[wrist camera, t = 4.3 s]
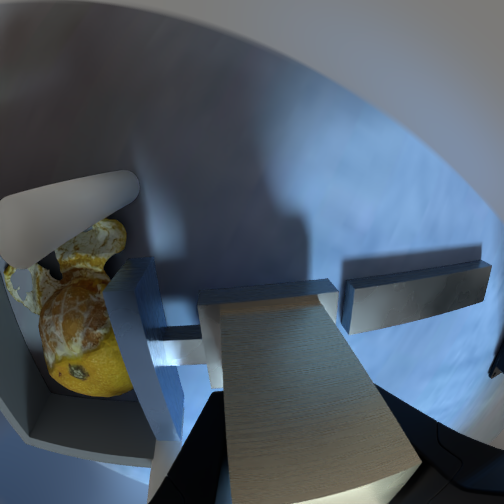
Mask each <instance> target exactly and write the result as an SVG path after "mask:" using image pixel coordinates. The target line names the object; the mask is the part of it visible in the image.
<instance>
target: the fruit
mask: <svg viewBox="0 0 504 504" xmlns="http://www.w3.org/2000/svg"><path fill="white" fill-rule="evenodd" d="M92 227H93V229H92V230H90V231H88V232H81V233H80V234H78V235H77V236H75V237H73V238H72V239H70V240H69V241H67V242H66V243H64V244H63V245H61V246H60V247H58V248H57V249H55V250H54V251H55V254H56V258H57V260H58V262H59V264H60V272H61V273H62V276H63V279H61V280H56V279H54V278H53V277H52V276H50V274H49V271H50V270H47V269H45V268H42V267H41V266H40V265H38V263H35V264H34V265H33V266H31V267H29V268H28V270H29V271H30V273H31V274H32V284H33V290H32V291H31V292H26V293H27V296H26V299H25V300H24V301H22V300H21V298H20V297H19V295H18V293H17V289H16V290H14V289H13V286H12V283H11V281H10V277H11V275H12V274H13V273H14V272H15V271H16V268H14V267H12V266H10V265H9V266H8V267H7V268H6V269H5V271H4V275H5V282H6V287H7V289H8V291H9V292H10V294H11V295H12V296H13V297H14V299H15V300H17V301H18V302H21V303H23V305H24V306H25V307H27V308H29V310H30V311H31V312H33V313H35V314H38V315H40V318H39V325H38V326H39V332H40V336H41V339H42V344H43V345H42V347H43V352H44V358H45V362H46V365H47V369H48V371H49V374H50V376H51V377H52V378H53V379H55V380H56V381H57V382H58V383H60V384H61V385H63V386H64V387H66V388H67V389H69V390H72V391H74V392H77V393H81V394H84V395H89V396H98V397H102V396H103V397H111V396H115V395H122V394H123V393H127V392H128V391H131V390H132V389H133V385H132V383H131V380H130V377H129V375H128V372H127V370H126V367H125V364H124V361H123V359H122V356H121V353H120V350H119V347H118V344H117V341H116V338H115V335H114V332H113V328H112V325H111V322H110V318H109V315H108V311H107V308H106V304H105V301H104V297H103V293H102V292H103V290H104V289H105V288H106V286H107V285H108V284H109V282H110V281H111V280H110V277H109V276H108V275H107V274H106V272H105V271H104V270H103V267H104V265H105V263H106V261H107V260H108V259H109V258H110V257H111V256H112V255H114V254H115V253H120V252H121V251H122V250H123V249H124V248H125V244H126V237H127V233H126V230H125V227H124V226H123V225H122V224H121V223H120V222H119V221H118V220H116V219H108V218H107V217H106V218H104V219H102V220H101V221H99V222H97V223H96V224H94V225H92ZM19 289H20V287H18V290H19Z"/></svg>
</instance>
